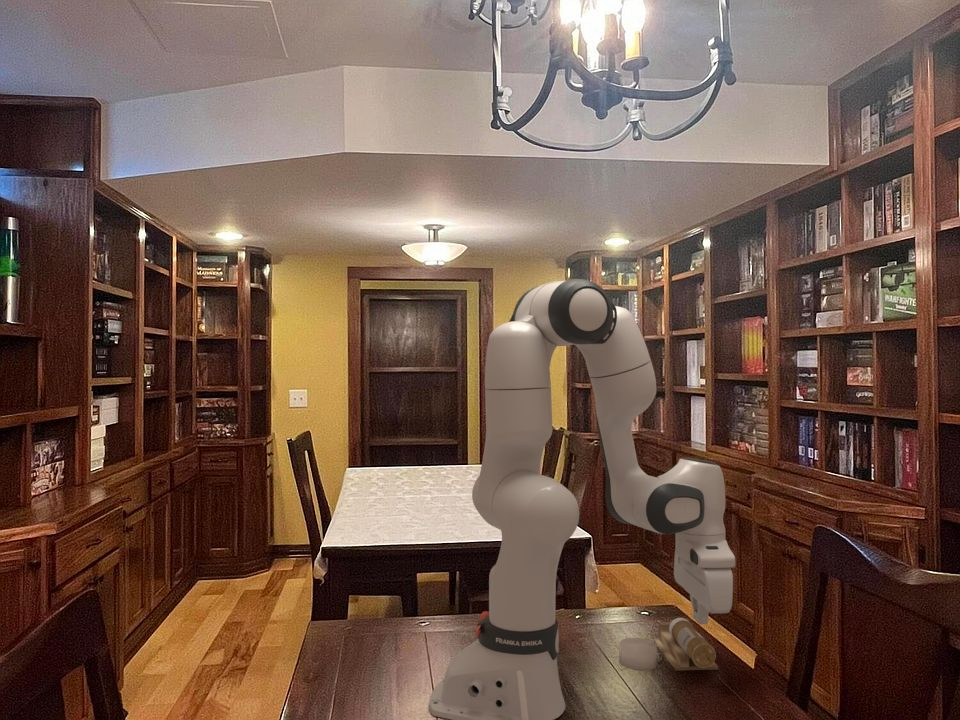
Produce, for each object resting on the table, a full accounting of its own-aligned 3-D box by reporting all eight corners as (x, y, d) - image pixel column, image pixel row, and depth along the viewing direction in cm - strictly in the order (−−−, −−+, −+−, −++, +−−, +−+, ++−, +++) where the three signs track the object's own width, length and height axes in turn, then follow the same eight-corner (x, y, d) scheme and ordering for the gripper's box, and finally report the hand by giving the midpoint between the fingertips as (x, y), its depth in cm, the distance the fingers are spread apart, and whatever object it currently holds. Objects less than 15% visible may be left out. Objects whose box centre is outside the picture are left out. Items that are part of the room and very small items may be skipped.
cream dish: (619, 669, 134) (619, 650, 134) (619, 654, 141) (619, 636, 141) (658, 672, 133) (658, 653, 133) (655, 657, 140) (655, 639, 140)
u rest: (718, 669, 134) (718, 647, 134) (675, 670, 134) (675, 648, 134) (692, 641, 148) (692, 621, 148) (653, 641, 148) (653, 622, 148)
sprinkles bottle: (719, 646, 130) (693, 619, 144) (694, 641, 130) (671, 614, 143) (713, 671, 130) (688, 641, 144) (689, 666, 130) (666, 637, 143)
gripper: (665, 533, 142) (665, 603, 142) (703, 561, 122) (703, 642, 122) (697, 532, 143) (697, 602, 143) (739, 560, 122) (740, 642, 122)
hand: (700, 621), depth 132 cm, fingers closed
